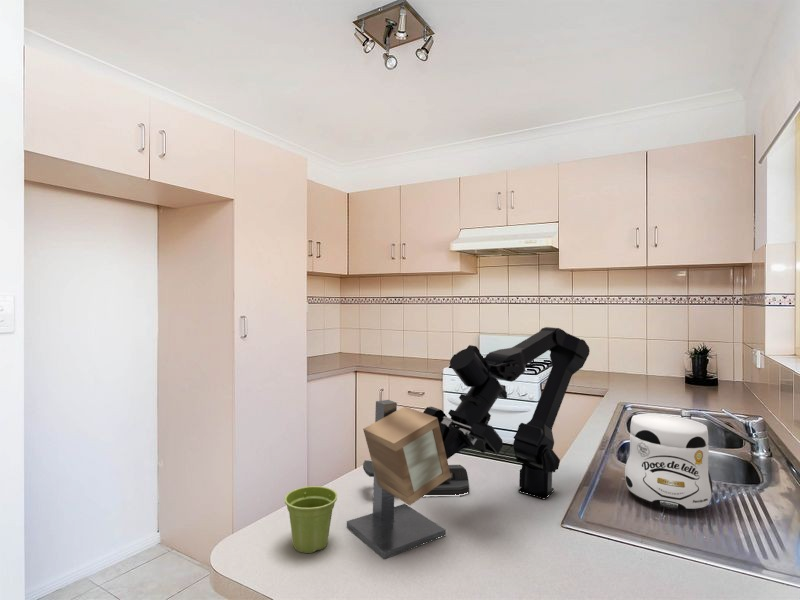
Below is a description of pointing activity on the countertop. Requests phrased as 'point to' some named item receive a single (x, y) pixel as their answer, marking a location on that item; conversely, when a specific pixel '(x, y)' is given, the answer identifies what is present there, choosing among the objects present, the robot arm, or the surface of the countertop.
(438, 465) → the cardboard box
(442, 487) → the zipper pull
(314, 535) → the plant pot
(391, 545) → the post stand
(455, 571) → the countertop surface
